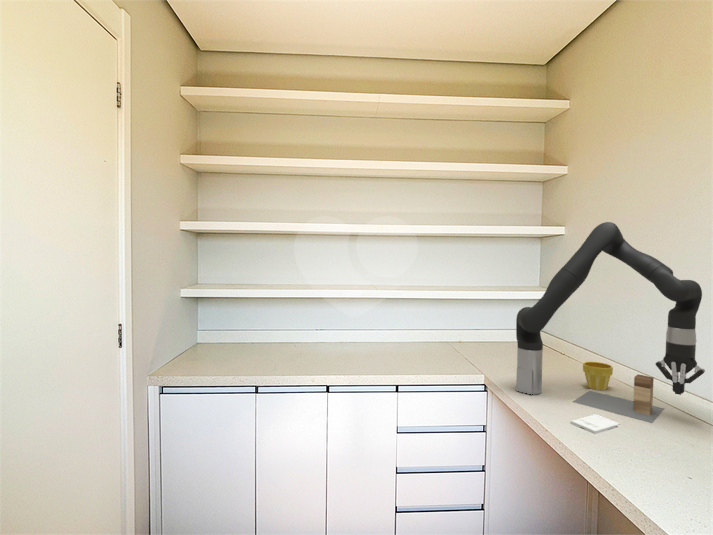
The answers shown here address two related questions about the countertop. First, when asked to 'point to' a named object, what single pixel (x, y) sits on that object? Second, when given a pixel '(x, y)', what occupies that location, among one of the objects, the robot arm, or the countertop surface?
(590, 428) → the external hard drive
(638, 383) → the block
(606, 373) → the plant pot
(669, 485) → the countertop surface
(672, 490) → the countertop surface
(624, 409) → the mat
